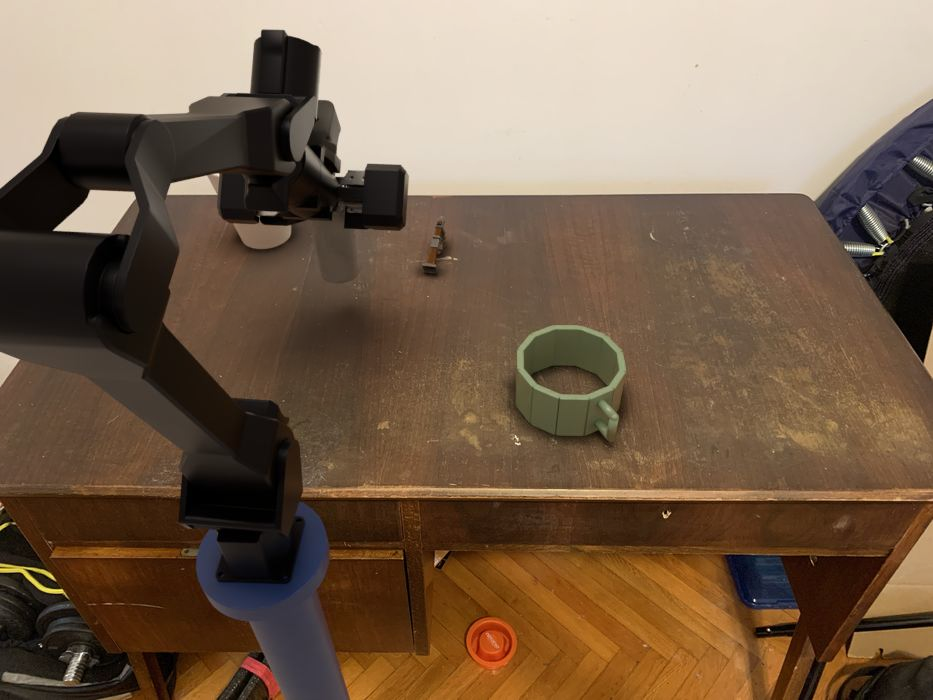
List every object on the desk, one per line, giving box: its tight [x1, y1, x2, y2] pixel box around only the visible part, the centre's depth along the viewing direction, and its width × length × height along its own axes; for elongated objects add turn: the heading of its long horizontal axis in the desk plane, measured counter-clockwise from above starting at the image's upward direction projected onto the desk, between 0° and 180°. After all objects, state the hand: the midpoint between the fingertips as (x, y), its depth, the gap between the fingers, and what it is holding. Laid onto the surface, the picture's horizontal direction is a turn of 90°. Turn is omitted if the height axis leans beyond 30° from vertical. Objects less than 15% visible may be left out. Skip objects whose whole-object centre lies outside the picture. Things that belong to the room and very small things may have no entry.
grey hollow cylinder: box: [310, 185, 361, 284], centre depth 81 cm, size 4×4×10 cm
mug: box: [514, 324, 627, 442], centre depth 75 cm, size 14×11×6 cm
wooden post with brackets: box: [421, 215, 447, 275], centre depth 96 cm, size 2×8×4 cm, turn 168°
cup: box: [207, 173, 292, 250], centre depth 97 cm, size 12×12×12 cm
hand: (335, 213), depth 81 cm, fingers closed on grey hollow cylinder, 4 cm apart
